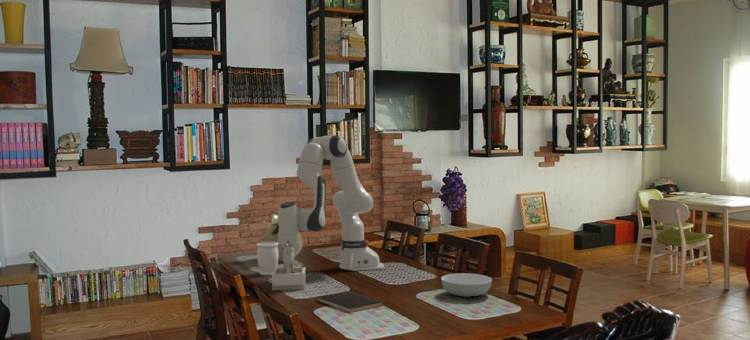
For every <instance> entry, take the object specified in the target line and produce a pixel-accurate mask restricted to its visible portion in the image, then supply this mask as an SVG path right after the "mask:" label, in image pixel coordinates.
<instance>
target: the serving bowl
mask: <svg viewBox="0 0 750 340" xmlns="http://www.w3.org/2000/svg"><path fill="white" fill-rule="evenodd" d="M440 279H441V285H442V287H443V289H444V290H445V291H446V292H448V293H449V294H452V295H454V296H457V295H458V296H457V297H461V296H464V297H463V298H472V297H471V296H474V297H476V296H477V297H478V296H480V295H481V296H482V295H483V294H484V295H485V294H486V293H487V292H488V291H489V290H490V289H491V287H492V282H493V278H492V277H490V276H486V275H483V274H478V273H468V272H467V273H465V272H464V273H463V272H461V273H460V272H459V273H449V274H445V275H443V276H441V277H440Z"/></svg>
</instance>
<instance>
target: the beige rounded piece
mask: <svg viewBox="0 0 750 340" xmlns="http://www.w3.org/2000/svg"><path fill="white" fill-rule="evenodd" d="M269 222H270V226H269V228H268V229H267V230H266V232H265V233H264V234H263V235H262V238H261V242H277V243H278V246H277V248H278V254H279V257H278V263H279V262H282V263H283V248H282V245H281V244H279V237H278V232H279V225H278V213H277V212H271V213H270V214H269ZM302 235H303V234H302V233H301V232H300V231H299V230H298V239H299V243H298V244H296V247H295V252H294V257H293V260H295V258H296V256H297V255H298V254H299V253H300V252H301V250H302V248H303V244H304V238H303V236H302ZM261 242H260V243H261Z"/></svg>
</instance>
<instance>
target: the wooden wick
mask: <svg viewBox="0 0 750 340" xmlns="http://www.w3.org/2000/svg"><path fill="white" fill-rule="evenodd" d="M294 262H295V261H294V259H293V260H292V263H291V272H290V273H294V267H295V266H294V265H295V264H294ZM283 268H284V273H287V272H286V264H284V263H283Z"/></svg>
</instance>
